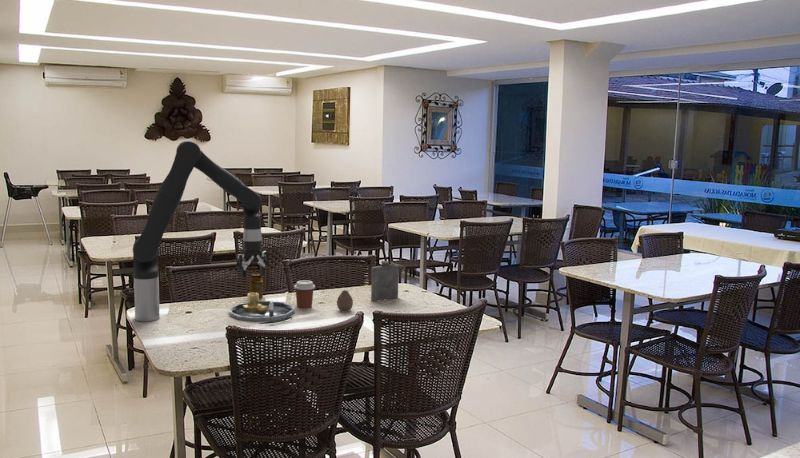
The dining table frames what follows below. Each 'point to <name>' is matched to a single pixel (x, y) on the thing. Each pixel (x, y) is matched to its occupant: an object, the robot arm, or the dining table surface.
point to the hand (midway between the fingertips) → (253, 276)
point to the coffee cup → (304, 293)
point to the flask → (384, 281)
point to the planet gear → (252, 302)
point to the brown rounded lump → (344, 301)
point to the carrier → (264, 312)
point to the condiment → (256, 284)
